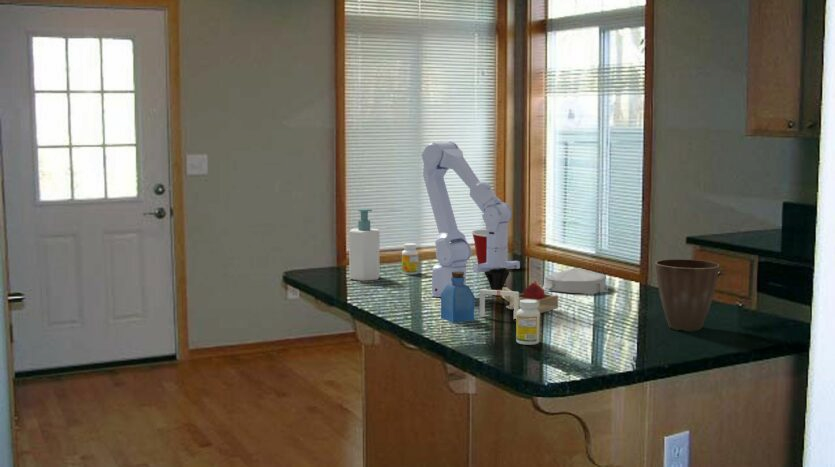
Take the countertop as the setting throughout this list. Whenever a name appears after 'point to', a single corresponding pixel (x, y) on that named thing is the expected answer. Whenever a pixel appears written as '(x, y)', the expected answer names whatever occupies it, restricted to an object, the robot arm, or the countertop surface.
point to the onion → (534, 292)
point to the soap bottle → (364, 250)
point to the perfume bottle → (457, 300)
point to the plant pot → (686, 291)
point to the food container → (575, 281)
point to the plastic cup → (480, 245)
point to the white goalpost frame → (498, 292)
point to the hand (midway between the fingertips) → (496, 296)
